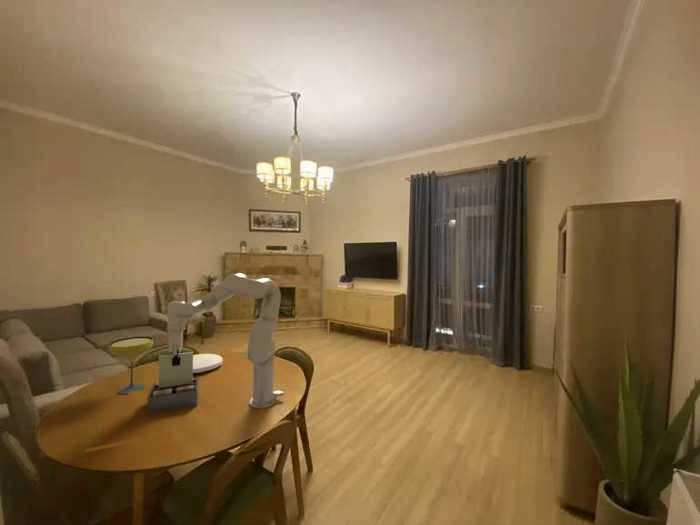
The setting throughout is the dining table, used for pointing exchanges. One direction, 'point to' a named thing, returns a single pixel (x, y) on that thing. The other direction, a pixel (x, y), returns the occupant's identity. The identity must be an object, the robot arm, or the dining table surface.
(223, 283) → the robot arm
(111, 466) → the dining table surface
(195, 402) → the rack
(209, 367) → the plate
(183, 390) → the walnut offcut
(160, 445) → the dining table surface
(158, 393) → the brown offcut
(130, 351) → the cocktail glass
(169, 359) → the sage sheet
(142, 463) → the dining table surface
